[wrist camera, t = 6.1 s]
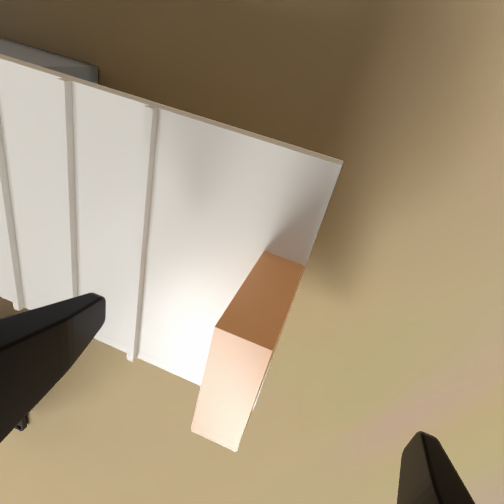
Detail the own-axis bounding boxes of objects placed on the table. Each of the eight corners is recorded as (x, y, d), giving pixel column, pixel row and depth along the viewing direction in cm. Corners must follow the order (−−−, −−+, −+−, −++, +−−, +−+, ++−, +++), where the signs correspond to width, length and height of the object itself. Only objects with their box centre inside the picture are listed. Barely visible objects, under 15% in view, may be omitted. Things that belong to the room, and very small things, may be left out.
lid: (257, 398, 15) (215, 508, 12) (-26, 273, 18) (-140, 330, 14) (343, 160, 10) (320, 217, 6) (-77, 30, 13) (-284, 12, 9)
